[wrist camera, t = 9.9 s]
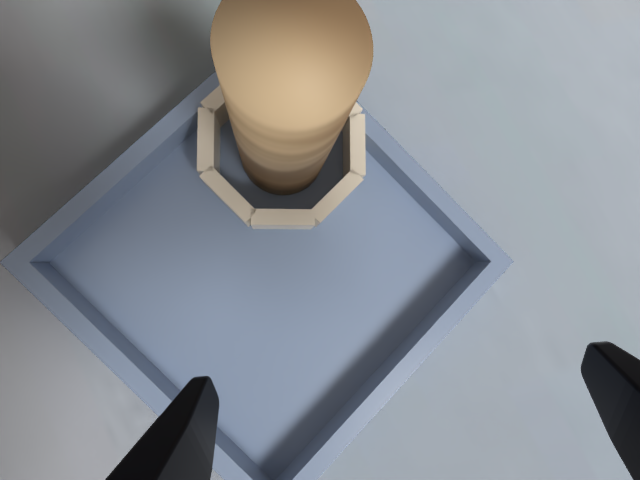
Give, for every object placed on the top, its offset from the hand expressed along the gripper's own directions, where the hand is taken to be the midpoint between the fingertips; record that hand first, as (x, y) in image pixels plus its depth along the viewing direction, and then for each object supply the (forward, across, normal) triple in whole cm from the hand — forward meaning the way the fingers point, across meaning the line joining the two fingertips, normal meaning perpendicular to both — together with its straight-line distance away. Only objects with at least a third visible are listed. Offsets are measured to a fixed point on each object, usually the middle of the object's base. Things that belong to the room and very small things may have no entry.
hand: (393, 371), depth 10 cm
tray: (+10, +4, +3) cm, 11 cm away
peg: (+12, +4, -1) cm, 13 cm away
